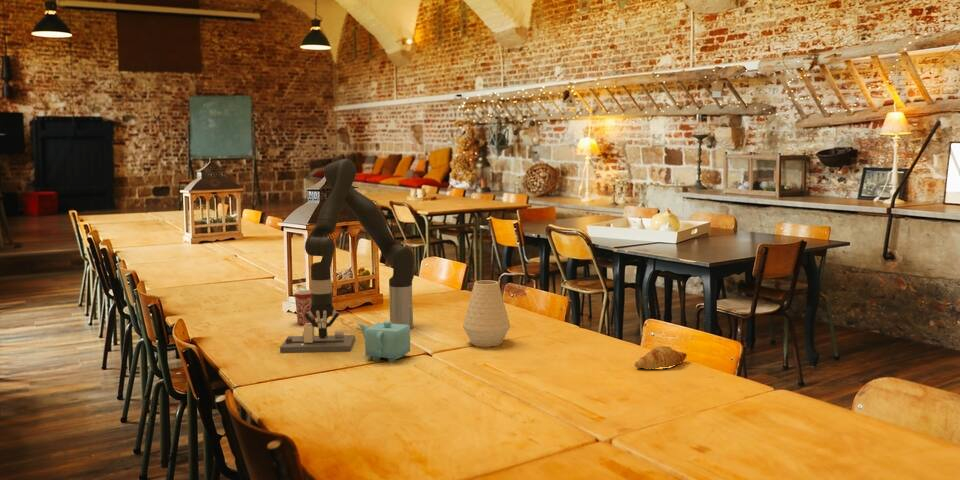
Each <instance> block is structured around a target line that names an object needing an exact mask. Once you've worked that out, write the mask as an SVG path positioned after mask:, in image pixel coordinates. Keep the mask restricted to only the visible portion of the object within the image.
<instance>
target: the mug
mask: <svg viewBox="0 0 960 480" xmlns="http://www.w3.org/2000/svg"><path fill="white" fill-rule="evenodd" d="M293 294H294V299H295V310H296V319H297V325H298V326H303V327H304V325H305V324H306V323H310V322H309V320H308V319H307V318H306V317H305V314H306V313H307V312H309V311H310V308H311V289H301V290H297V291H294V292H293ZM312 317H313V319H314V320H315V321H316V322H317V318H315V316H314V315H313V314H312Z"/></svg>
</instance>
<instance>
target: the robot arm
mask: <svg viewBox="0 0 960 480" xmlns="http://www.w3.org/2000/svg"><path fill="white" fill-rule="evenodd" d="M323 175H324V178H325V181H326V182H327V183H328V185H329V186H330V187H331V189H332V190H331V192H330V194H329V196H328V197H327V198H326V200H325V201H324V203H323V205H322V206H321V208H320V211H319V213H318V217H317V221H316V224H314V225H315V226H314V227H313V229H312V230H311V231H310V233H309V235H308V236H307V238H306V239H305V244H304V249H305V252H306V254H307V255H309V256H311V257H321V259H320V261H317V262H314V263H312V264H311V265H310V290H311V308H310V311H309V312H307V313H306V314H305V317H306V318H307V319H308V320H309V322H310V323H311V324H312V325H313V326H314V328H317V329H318V336H319V337H321V338H325V337H326V336H327V332H328V327H329V328H330V327H331V326H332V325H333V323H334V322H335V321H336V320H337V318H338V317H339V316H340V312H339V311H337V310H335V307H334V305H333V289H332V288H333V286H332V284H333V283H332V275H331V273H332V272H331V268H332V262H333V257H334V254H335V249H336V245H335V241H334V240H333V238H331V237H329V236H328V235H332V234H334V232H335V231H336V228H337V227H336V226H337V223H338V220H339V216H340V213H341V210H342V207H343V204H344V203H345V205H346V206H347V207H348V208H349V210H350V211H351V212H352V214H353V215H354V216H355V218H356V220H357V221H358V222H359V224H360V225H361V226H362V228H363V229H364V230H365V231H366V232H367V234H368V235H369V237H370V239H372V241H374V242H375V244H376V246H377V248H378V249H379V251H380V253H381V254H382V256H383V259H384V260H385V262H386V263H387V264H388V266H391V267H392V268H393V269H392V270H393V271H392V276H391V277H389V279H388V284H389V285H388V293H389V295H388V297H389V299H388V301H389V302H388V303H389V321H391V322H392V323H391V324H404V325H410V329H413V328H414V303H413V279H414V278H415V255H414V252H413V250H412V248H409V247H407V246H405V245H402V244H399V243H398V241H397V240H396V238H394V237H393V235H392V234H391V232H390V230H389V226H388V223H387V221H386V218H385V216H384V214H383V213H382V211H381V209H380V208H379V207H378V205H377V204H376V203H375V202H374V201H373V200H371V198H369V197H367V195H366V196H365V195H364V194H362V193H361V192H359V191H358V190H357V189H356V188H355V187H354V186H353V183H354V181H355V180H356V176H357V168H356V165H355V163H354V161H352V160H351V159H348V158H344V159H339V160H336V161H333V162H331V163H328V164H327V165H325V167H324V169H323ZM312 314H313V315H314V316H315V318H316V321H315V320H314V319H313V317H312ZM331 314H332V318H331V319H330V320H329V321H328V318H329V317H330V316H331Z"/></svg>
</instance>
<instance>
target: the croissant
mask: <svg viewBox="0 0 960 480" xmlns="http://www.w3.org/2000/svg"><path fill="white" fill-rule="evenodd" d="M686 357H687V353H685V352H682V351H677V350H676V349H672V347H670V346H665V345H661V346H657V347H654V348H652V349H651V350H650V351H648V352H647V353H646V354H645V355H644V356H642V357H640V358H639V359H638V360H637V361H635V362H634V366H635V368H636V367H637V369H639V368H659V367H669V366H673V365H676V364H678V363H680V362H681V363H683V362H684V361H685V359H686ZM682 361H683V362H682ZM681 363H680V364H681ZM678 365H679V364H678ZM676 366H677V365H676Z"/></svg>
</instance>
